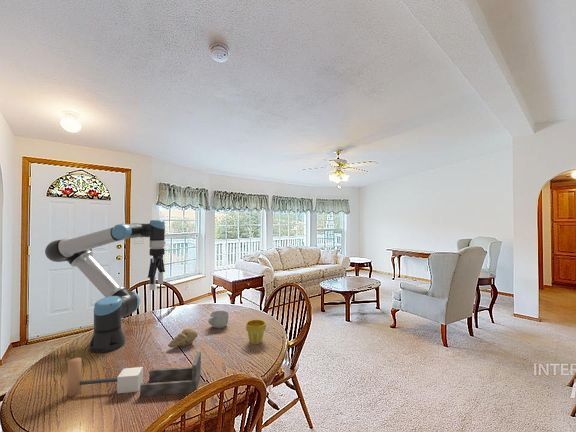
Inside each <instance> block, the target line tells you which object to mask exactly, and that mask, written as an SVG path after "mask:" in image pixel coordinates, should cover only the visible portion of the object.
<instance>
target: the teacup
mask: <svg viewBox="0 0 576 432" xmlns="http://www.w3.org/2000/svg"><path fill="white" fill-rule="evenodd" d="M229 315H230V313H229V311H225V310H214V311H212V312H211V313H210V317H209V319H208V324H209V325H210V326H211V327H213V328H214V329H224V328H225V327H226V326H227V325H228V324H229Z"/></svg>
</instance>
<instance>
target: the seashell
mask: <svg viewBox="0 0 576 432" xmlns="http://www.w3.org/2000/svg"><path fill="white" fill-rule="evenodd" d="M198 335H199V334H198V333H197V332H196V331H195V330H194V329H192V328H185V329H183V330H182V331H181V332H180V333H179V334H177V336H175V337H174V338H173V339H172V340H171V341H170V342H169V344H168V345H167V346H168V347H169V348H174V347H186V346H189V345H191V344H193V342H194V341H195V340H196V338H197V337H198Z"/></svg>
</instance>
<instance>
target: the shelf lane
mask: <svg viewBox="0 0 576 432" xmlns="http://www.w3.org/2000/svg"><path fill="white" fill-rule="evenodd" d="M201 359H202V352H201V351H196V354H195V356H194V359H193V363H192V364H191V367H190V366H189V367H187V366H186V367H173V368H160V369H158V368H157V369H155V368H154V369H150V370H149V371H148V373H149V374H148V381H149V382H148V383H147V382H146V383H142V384H141V385H140V388H139V397H151V396H163V395H164V396H165V395H176V394H189V393H190V394H191V393H194V392H193V391H195V390H196V391H197V390H198V387H199V383H200V380H201V369H202V367H201V365H202V363H201V362H202V360H201ZM185 379H186V380H185ZM187 379H189V380H187ZM190 379H191V380H190ZM172 380H173V381H172ZM174 380H176V381H174ZM157 381H162V382H157Z"/></svg>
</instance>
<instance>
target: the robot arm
mask: <svg viewBox="0 0 576 432" xmlns="http://www.w3.org/2000/svg"><path fill="white" fill-rule="evenodd" d="M165 224H166V223H165V220H163V219H151V220H150V221H149V223H138V222H136V223H135V222H134V223H119V224H115V225H114V226H112V227H108V228H105V229H102V230H97V231H94V232H91V233H87V234H84V235H81V236H76V237H73V238H62V239H55V240H53V241H50V242H49V243H48V244H47V245H46V247H45V250H44V253H45V256H46V258H47V259H48V260H50V262H51V261H52V262H55V263H60V262H61V263H62V262H63V263H64V262H67V263H68V264H70V266H72V267H76V268H77V269H78V270H79V271H80V272H82V274H83V275H84V276H85V277H86V278H87V279H88V280H89V281H90V283H92V285H93V286H94V287H95V288H96V289H97V290H98V291H99V292H100V294H102V296H103V297H102V298H100V299H98V300H97V301H95V303H94V306H93V334H92V336H91V340H90V342H89V344H88V345H89V347H88V351H89V352H91V353H94V354H95V353H96V354H99V353H108V352H112V351H115V350H118V349H120V348H121V347H123V346H124V345H125V343H126V339H125V335H124V331H123V330H122V319H123V318H125V317H127V316H130V315H132V314H133V313H134V312H136V310H137V309H138V308H139V307H140V305H141V298H140V296H139V294H138V293H137V292H135V291H132V290H131V291H130V290H128V289H127V288H126V286H121V285H119V283H118V282H117V281H116V280H115V279H114V278H113V277H112V276H111V275H110V274H109V273H108V272H107V271H106V270H105V268H104V267H103V266H102V265H101V264H100V263H99V262H98V260H97V259H95V258H94V252H93V249H95V248H99V247H102V246H105V245H109V244H113V243H116V242H120V241H123V240H127V239H128V240H129V239H137V238H149V245H148V246H149V256H150V257H152V258H150V261H149V262H150V264H149V267H148V268H149V269H148V274H147V279H148V278H149V291H155V290H156V273H157V285H164V273H165V272H166V269H165V263H164V262H165V261H164V256H165V250H166V249H165V246H166V245H165V244H166V243H167V242H166V241H165V239H166V238H165V237H166V236H165V233H166V225H165ZM157 270H158V272H157Z"/></svg>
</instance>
